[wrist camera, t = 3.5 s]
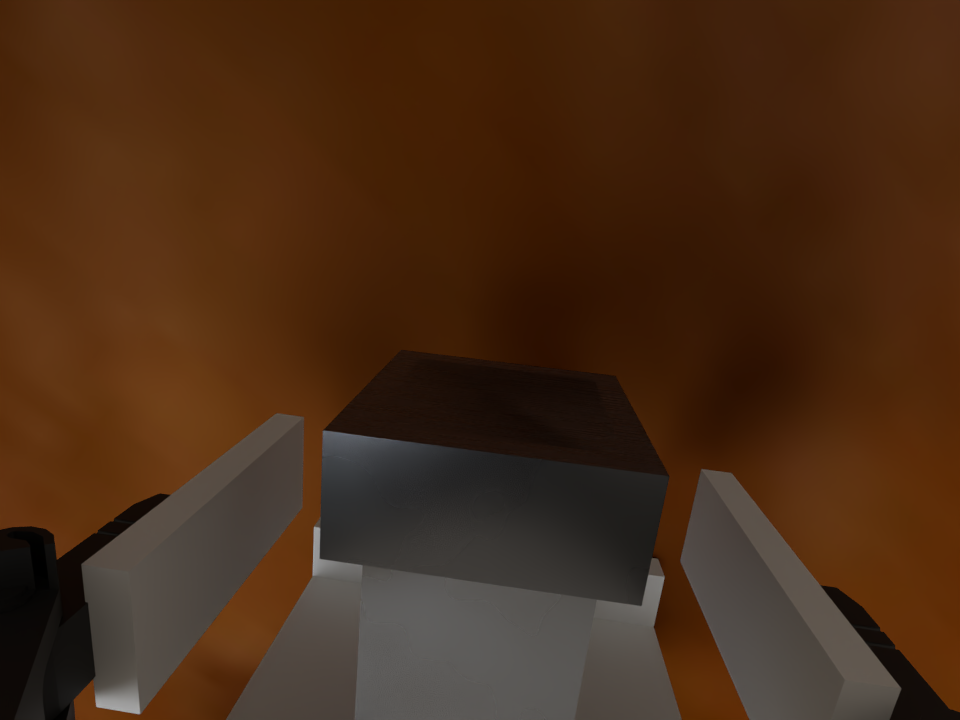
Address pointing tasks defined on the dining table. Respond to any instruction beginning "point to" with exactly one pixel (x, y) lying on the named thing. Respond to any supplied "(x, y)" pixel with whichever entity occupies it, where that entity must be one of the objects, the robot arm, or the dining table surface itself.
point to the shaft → (485, 531)
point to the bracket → (334, 656)
